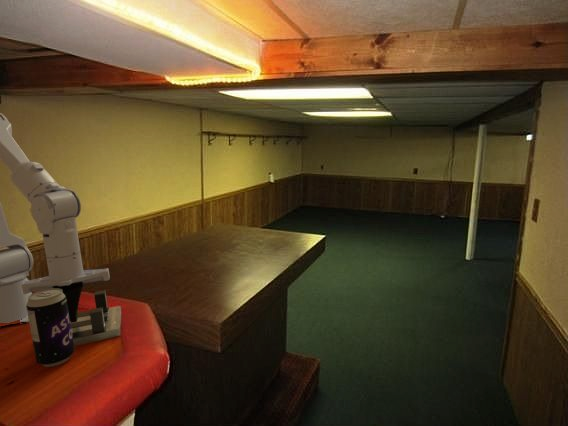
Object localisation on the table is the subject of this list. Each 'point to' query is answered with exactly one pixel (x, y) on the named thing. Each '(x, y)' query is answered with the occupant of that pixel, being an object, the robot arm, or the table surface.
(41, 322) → the beverage can
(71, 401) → the table surface
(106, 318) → the panel
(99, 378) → the table surface
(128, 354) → the table surface
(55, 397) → the table surface
